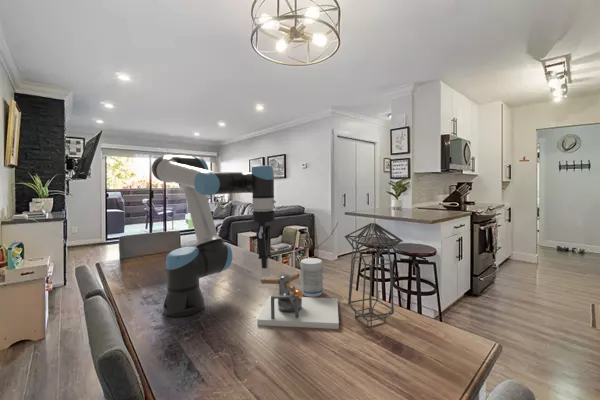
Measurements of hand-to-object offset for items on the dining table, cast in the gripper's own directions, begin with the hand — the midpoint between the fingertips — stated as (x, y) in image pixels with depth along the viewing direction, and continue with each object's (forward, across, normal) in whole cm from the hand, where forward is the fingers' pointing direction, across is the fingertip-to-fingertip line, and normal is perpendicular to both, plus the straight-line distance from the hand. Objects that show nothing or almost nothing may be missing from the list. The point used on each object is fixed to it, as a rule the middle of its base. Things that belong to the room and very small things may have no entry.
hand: (265, 276), depth 101 cm
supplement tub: (+16, +25, -15) cm, 34 cm away
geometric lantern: (+17, +4, -38) cm, 41 cm away
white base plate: (+16, +6, -12) cm, 21 cm away
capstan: (+14, +6, -5) cm, 16 cm away
